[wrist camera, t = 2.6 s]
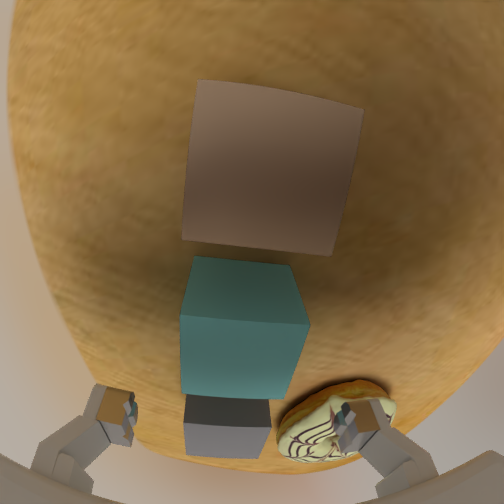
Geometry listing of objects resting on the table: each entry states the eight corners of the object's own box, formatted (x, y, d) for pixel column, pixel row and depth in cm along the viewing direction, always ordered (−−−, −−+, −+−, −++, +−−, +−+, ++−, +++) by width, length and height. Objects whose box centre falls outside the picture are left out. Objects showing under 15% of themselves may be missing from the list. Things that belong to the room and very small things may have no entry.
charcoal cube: (190, 361, 18) (183, 422, 14) (264, 366, 19) (271, 427, 14) (191, 401, 20) (186, 454, 16) (253, 405, 21) (257, 458, 16)
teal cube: (194, 254, 15) (179, 314, 10) (289, 264, 15) (310, 324, 11) (191, 328, 17) (181, 393, 12) (272, 335, 18) (283, 399, 13)
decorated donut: (408, 378, 22) (424, 408, 18) (344, 438, 26) (352, 466, 22) (314, 367, 19) (326, 408, 16) (257, 434, 23) (260, 468, 20)
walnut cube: (211, 94, 11) (197, 79, 7) (320, 111, 12) (364, 109, 8) (199, 198, 14) (181, 240, 9) (301, 211, 14) (331, 256, 10)
